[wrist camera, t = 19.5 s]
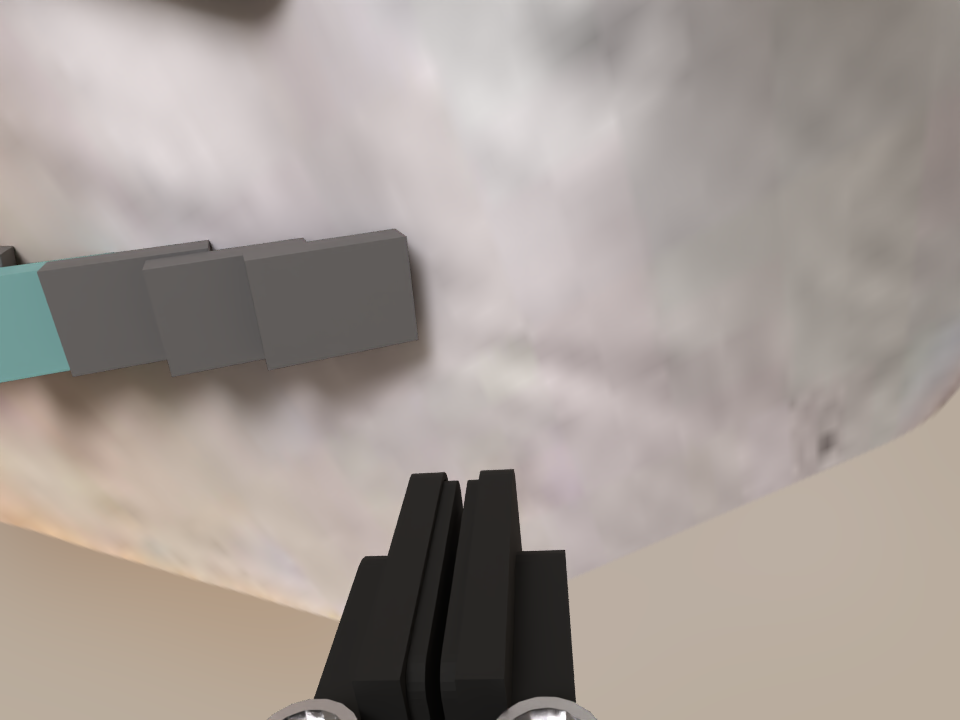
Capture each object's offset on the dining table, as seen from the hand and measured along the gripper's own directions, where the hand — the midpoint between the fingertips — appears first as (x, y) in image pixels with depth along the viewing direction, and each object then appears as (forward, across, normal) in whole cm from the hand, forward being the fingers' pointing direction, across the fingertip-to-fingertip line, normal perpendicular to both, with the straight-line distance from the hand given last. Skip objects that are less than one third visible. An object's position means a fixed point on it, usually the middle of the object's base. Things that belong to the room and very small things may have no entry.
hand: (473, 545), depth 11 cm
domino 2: (+21, +14, +2) cm, 26 cm away
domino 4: (+21, +5, +2) cm, 22 cm away
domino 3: (+21, +10, +2) cm, 23 cm away
